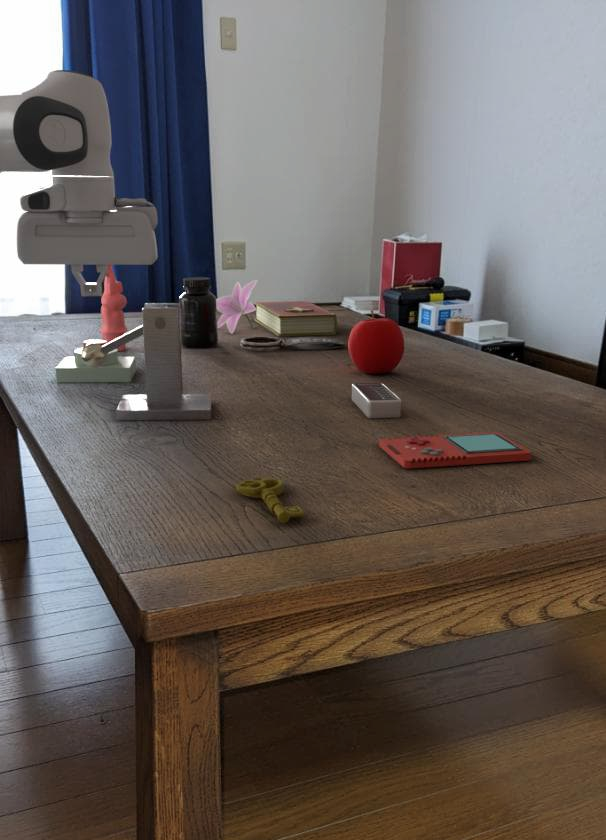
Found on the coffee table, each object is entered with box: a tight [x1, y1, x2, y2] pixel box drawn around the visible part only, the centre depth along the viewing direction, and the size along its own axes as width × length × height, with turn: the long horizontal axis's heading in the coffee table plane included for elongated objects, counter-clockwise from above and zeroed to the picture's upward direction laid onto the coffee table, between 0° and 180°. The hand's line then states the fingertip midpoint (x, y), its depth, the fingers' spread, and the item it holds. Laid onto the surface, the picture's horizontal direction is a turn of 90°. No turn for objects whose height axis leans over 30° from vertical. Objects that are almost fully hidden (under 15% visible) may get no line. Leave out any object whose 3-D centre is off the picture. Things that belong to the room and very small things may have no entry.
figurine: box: [99, 265, 129, 352], centre depth 158 cm, size 5×5×15 cm
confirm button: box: [82, 339, 107, 347], centre depth 138 cm, size 4×4×2 cm
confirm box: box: [55, 347, 137, 383], centre depth 139 cm, size 11×9×4 cm
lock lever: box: [81, 306, 168, 368], centre depth 116 cm, size 13×3×3 cm, turn 95°
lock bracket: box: [115, 302, 213, 421], centre depth 117 cm, size 12×9×14 cm
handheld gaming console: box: [379, 431, 532, 469], centre depth 103 cm, size 9×1×15 cm
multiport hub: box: [351, 382, 402, 419], centre depth 122 cm, size 4×11×2 cm, turn 9°
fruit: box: [347, 309, 405, 375], centre depth 143 cm, size 9×9×10 cm
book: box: [253, 300, 338, 337], centre depth 186 cm, size 12×21×4 cm, turn 16°
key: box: [235, 477, 305, 524], centre depth 86 cm, size 12×1×5 cm
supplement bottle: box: [178, 276, 219, 349], centre depth 164 cm, size 7×7×12 cm
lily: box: [216, 279, 259, 335], centre depth 182 cm, size 12×12×10 cm
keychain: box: [239, 336, 347, 352], centre depth 164 cm, size 8×19×2 cm, turn 99°
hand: (91, 295), depth 135 cm, fingers closed
